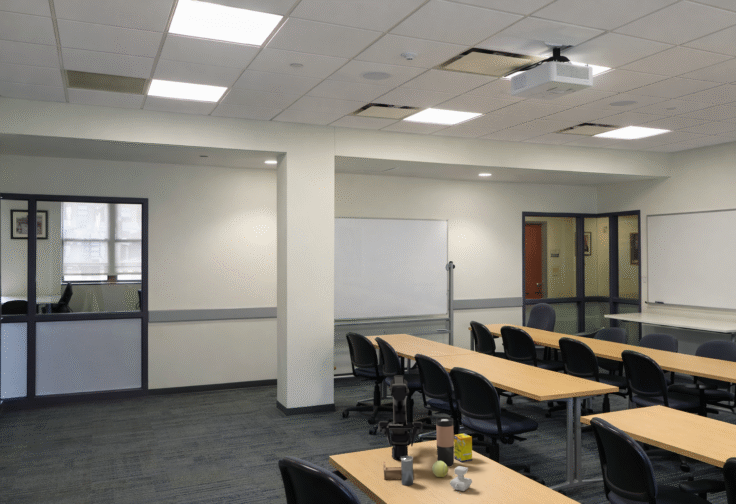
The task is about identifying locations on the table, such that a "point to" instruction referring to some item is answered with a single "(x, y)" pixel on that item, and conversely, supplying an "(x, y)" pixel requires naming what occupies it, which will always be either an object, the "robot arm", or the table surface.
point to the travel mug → (445, 440)
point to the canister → (407, 470)
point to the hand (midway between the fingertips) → (401, 446)
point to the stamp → (460, 479)
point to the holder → (391, 472)
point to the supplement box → (463, 447)
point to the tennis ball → (440, 469)
